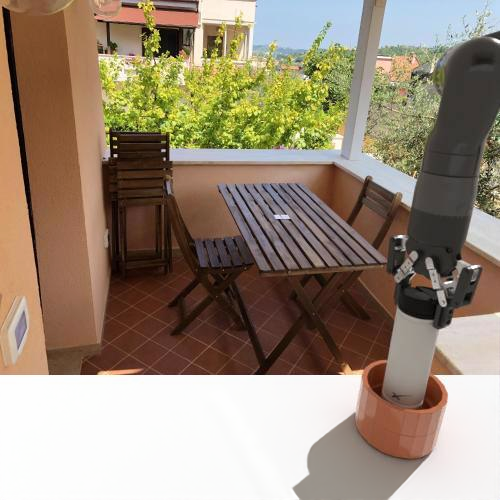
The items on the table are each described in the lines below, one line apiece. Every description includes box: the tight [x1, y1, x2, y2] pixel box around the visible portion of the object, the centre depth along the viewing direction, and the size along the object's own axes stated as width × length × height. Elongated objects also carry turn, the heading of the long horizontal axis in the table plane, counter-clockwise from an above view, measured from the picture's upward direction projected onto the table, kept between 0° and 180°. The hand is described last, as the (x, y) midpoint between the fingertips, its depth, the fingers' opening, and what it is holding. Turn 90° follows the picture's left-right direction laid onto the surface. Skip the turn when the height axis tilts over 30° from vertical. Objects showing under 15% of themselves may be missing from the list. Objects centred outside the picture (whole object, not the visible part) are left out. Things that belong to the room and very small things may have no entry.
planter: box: [354, 359, 449, 460], centre depth 69 cm, size 13×13×9 cm
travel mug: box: [381, 285, 440, 410], centre depth 65 cm, size 6×7×20 cm
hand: (419, 315), depth 63 cm, fingers closed on travel mug, 6 cm apart
